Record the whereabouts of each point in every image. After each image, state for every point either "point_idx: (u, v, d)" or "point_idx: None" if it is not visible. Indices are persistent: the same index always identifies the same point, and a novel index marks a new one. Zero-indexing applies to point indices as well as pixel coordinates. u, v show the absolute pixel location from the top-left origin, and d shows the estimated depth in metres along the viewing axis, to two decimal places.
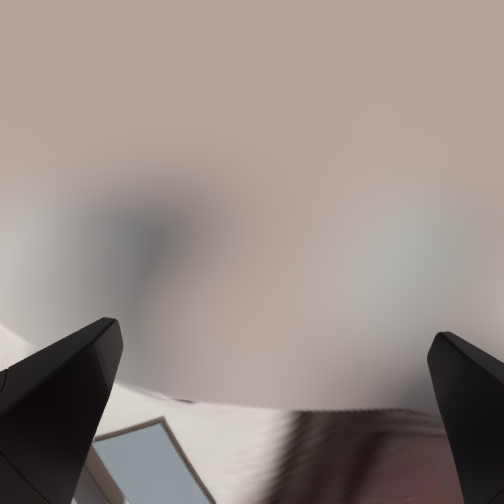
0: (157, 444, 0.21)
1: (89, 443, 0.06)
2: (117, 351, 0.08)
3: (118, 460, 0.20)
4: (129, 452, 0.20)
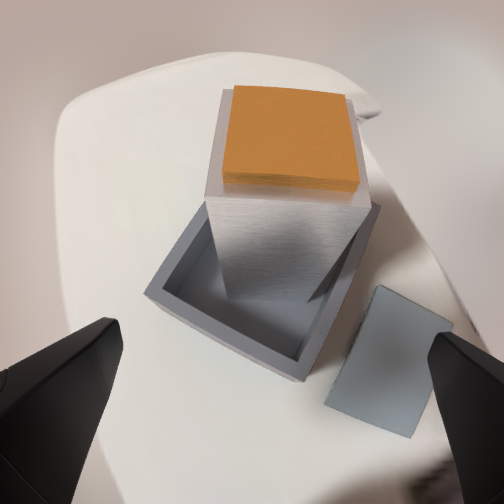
0: None
1: (89, 443, 0.06)
2: (117, 351, 0.08)
3: (389, 320, 0.20)
4: (407, 322, 0.20)
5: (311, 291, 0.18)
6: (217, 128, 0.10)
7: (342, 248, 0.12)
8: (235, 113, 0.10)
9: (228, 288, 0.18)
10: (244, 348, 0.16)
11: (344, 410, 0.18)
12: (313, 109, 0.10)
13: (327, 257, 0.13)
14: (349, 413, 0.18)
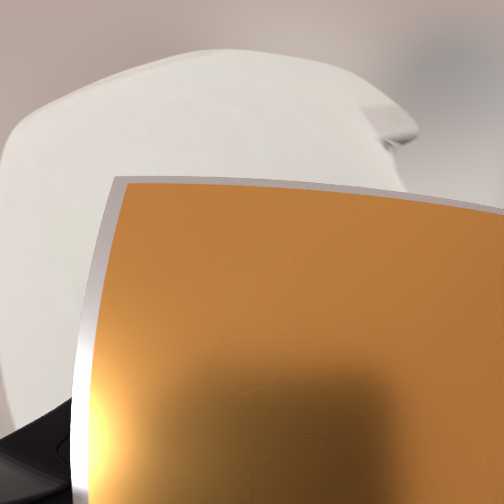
0: None
1: None
2: None
3: None
4: None
5: None
6: (78, 381, 0.02)
7: None
8: (112, 375, 0.02)
9: None
10: None
11: None
12: (455, 320, 0.02)
13: None
14: None
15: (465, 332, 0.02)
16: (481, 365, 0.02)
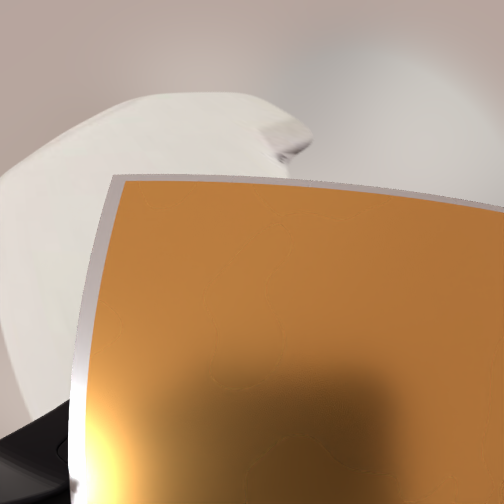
0: None
1: None
2: None
3: None
4: None
5: None
6: (76, 378, 0.02)
7: None
8: (109, 371, 0.02)
9: None
10: None
11: None
12: (452, 318, 0.02)
13: None
14: None
15: (463, 329, 0.02)
16: (479, 362, 0.02)
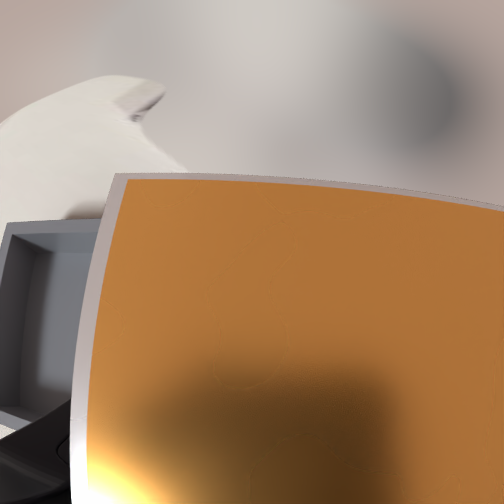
0: None
1: None
2: None
3: None
4: None
5: None
6: (78, 377, 0.02)
7: None
8: (111, 370, 0.02)
9: None
10: None
11: None
12: (455, 316, 0.02)
13: None
14: None
15: (466, 328, 0.02)
16: (482, 361, 0.02)
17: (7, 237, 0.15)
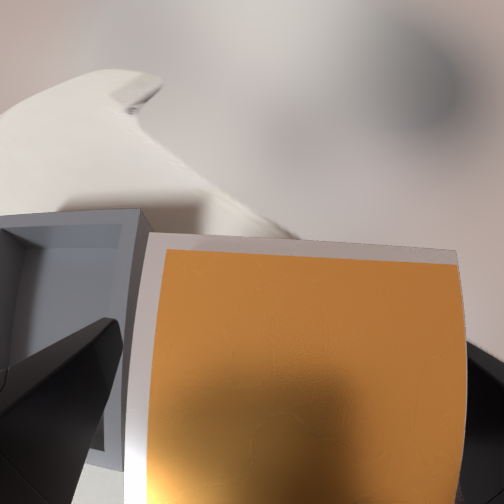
0: None
1: (90, 443, 0.06)
2: (117, 351, 0.08)
3: None
4: None
5: None
6: (132, 382, 0.04)
7: None
8: (165, 377, 0.03)
9: None
10: None
11: None
12: (388, 343, 0.04)
13: None
14: None
15: (395, 351, 0.03)
16: (407, 374, 0.03)
17: None
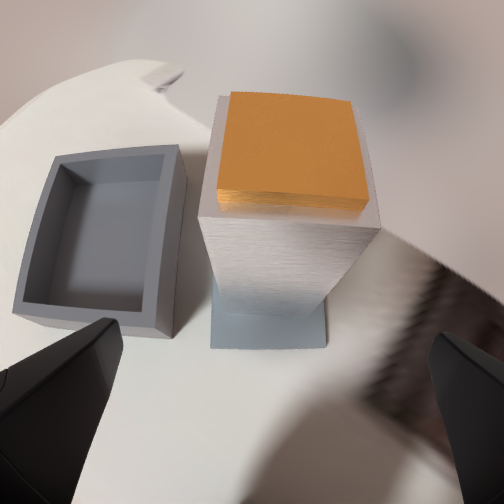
0: None
1: (89, 443, 0.06)
2: (117, 351, 0.08)
3: None
4: None
5: (313, 307, 0.17)
6: (212, 139, 0.10)
7: (347, 267, 0.11)
8: (231, 123, 0.09)
9: (226, 304, 0.17)
10: (93, 319, 0.16)
11: (232, 346, 0.19)
12: (317, 118, 0.09)
13: (330, 276, 0.12)
14: (239, 346, 0.19)
15: (320, 120, 0.09)
16: (326, 127, 0.09)
17: (55, 166, 0.20)
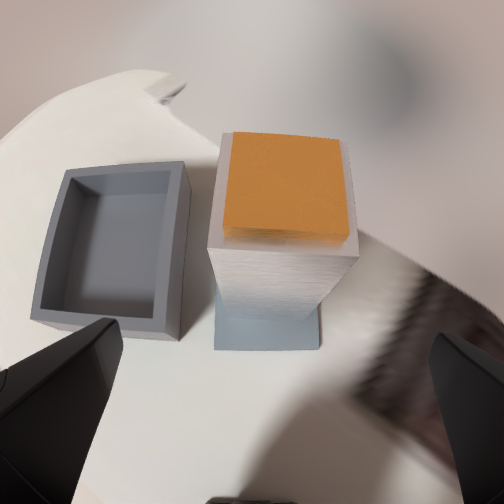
0: None
1: (89, 443, 0.06)
2: (117, 351, 0.08)
3: None
4: None
5: (306, 313, 0.19)
6: (217, 176, 0.11)
7: (334, 284, 0.13)
8: (234, 164, 0.11)
9: (229, 310, 0.19)
10: None
11: (234, 347, 0.21)
12: (308, 158, 0.11)
13: (320, 290, 0.14)
14: (240, 348, 0.21)
15: (311, 160, 0.11)
16: (316, 167, 0.11)
17: (66, 180, 0.22)
